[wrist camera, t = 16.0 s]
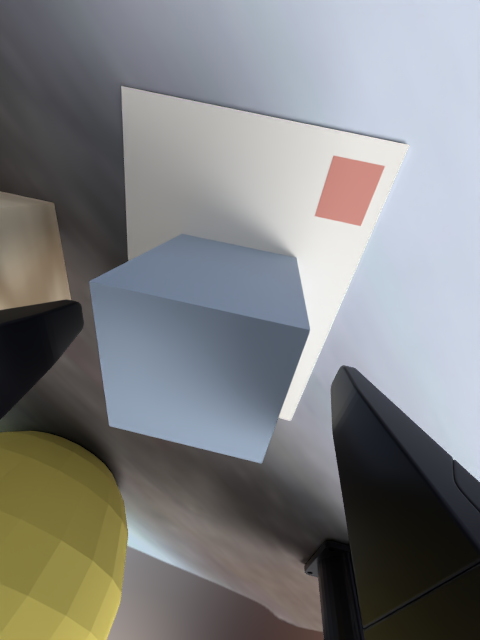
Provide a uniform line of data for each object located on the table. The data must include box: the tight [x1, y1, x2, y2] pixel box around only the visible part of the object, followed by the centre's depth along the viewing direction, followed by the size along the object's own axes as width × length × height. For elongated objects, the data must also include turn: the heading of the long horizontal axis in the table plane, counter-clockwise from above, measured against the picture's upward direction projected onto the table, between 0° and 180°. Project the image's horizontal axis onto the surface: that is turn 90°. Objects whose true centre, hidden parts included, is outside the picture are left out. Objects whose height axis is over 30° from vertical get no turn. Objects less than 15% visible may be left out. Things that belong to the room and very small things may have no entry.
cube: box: [89, 234, 310, 464], centre depth 9 cm, size 5×5×6 cm
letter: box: [121, 86, 410, 421], centre depth 12 cm, size 14×10×1 cm
